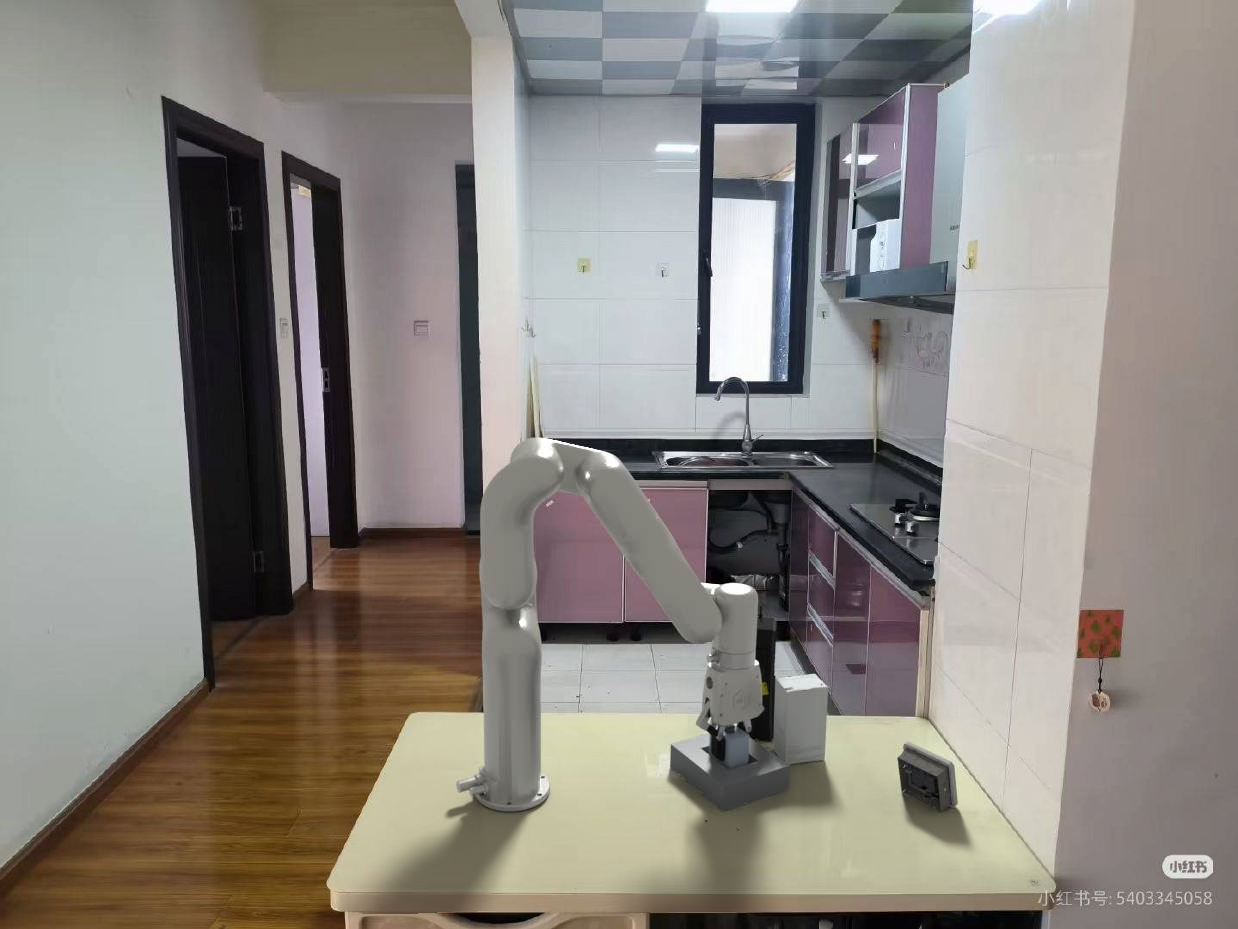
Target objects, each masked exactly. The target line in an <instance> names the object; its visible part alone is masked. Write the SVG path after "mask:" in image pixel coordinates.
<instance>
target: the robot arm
mask: <svg viewBox="0 0 1238 929" xmlns="http://www.w3.org/2000/svg"><path fill="white" fill-rule="evenodd" d="M557 492H560V493H565V494H570V495H575V496H581V497H583V499H584V501H585V502H586V504H587V505H588V507H589V508H590V509H591V511H592V512H593V513H594V515H595V517H596V519H598V521H599V522H600V524H601V525H602V526H603V528H604V529H605V531H606V532H607V534H608V535H609V537H610V538H611V539H612V541H613V543H615V546H616V547H617V548H618V550H619V551H620V552H621V554H622V555H623V557H624V558H625V559H626V561H627V563H628V564H629V565H630V568H631V569H632V570H633V571H634V572H635V573H636V574H637V576H638V578H639V579H640V580H641V581H642V582H643V584H644V585H645V586H646V587H647V588H648V590H649V591H650V593H651V594H652V596H653V597H654V599H655V600H656V602H657V603H658V604H659V606H660V607H661V609H662V610H663V611H664V613H665V615H667V617H668V619H669V620H670V622H671V623H672V624H673V626H674V627H675V629H676V630H677V631H678V634H680V635H681V637H682V638H683V639H684V640H686V641H688V642H690V643H692V644H697V645H703V644H706V643H709V642H711V648H710V650H711V652H710V654H707V655H706V661H707V663H708V664H707V667H706V673H705V676H704V677H705V678H704V681H703V682H704V683H703V691H702V703H701V712H700V714H699V716H698V717H697V719H696V721H695V726H697V727H699V729H701V730H704V731H706V732H707V734H708V733H709V734H710V735H711V753H712V755H713V756H715V757H716V758H717V759H719V760H720V761H724V759H725V745H726V741H725V739H723V735H724V730H725V726H728V725H732V724H734V725H735V724H736V726H737V727H738V728H740V729H741V730H743V731H744V732H746V733H747V734H748V732H750V731H751V726H752V724H753V723H754V722H755V720H756V718H757V717H758V716H759V715H760V714H761V713H762V712H763V711H764V707H763V705H762V680H761V672H760V667H759V663H758V661H756V660H755V653H756V634H757V616H758V614H759V613H758V608H759V594H758V592H757V591H756V589H755V588H754V587H753V586H751V585H749V584H745V583H738V582H729V583H724V584H715V583H714V584H713V583H705V582H701V580H700V579H699V577H698V576H697V575H696V573H695V571H694V570H693V569H692V567H691V565H690V564H689V562H688V561H687V559H686V558H685V556H684V554H683V553H682V550H681V549H680V547H679V545H678V544H677V541H676V540H675V538H674V536H673V535H672V533H671V532H670V530H669V528H668V526H667V525H666V524H665V523H664V521H663V520H662V518H661V517H660V515H659V513H658V512H657V511H656V509H655V508H654V507H653V505H652V504H651V502H650V500H649V499H648V498H647V496H646V495H645V493H644V492H643V491H642V489H641V487H640V486H639V485H638V483H637V481H636V480H635V478H634V476H632V474H631V473H630V471H629V470H628V469H627V467H626V466H625V465H624V463H623V462H622V461H621V459H620V458H619V457H617V456H616V455H614V454H612V453H610V452H607V451H604V450H603V451H602V450H599V449H594V448H589V447H585V446H580V445H577V444H576V445H575V444H572V443H571V444H570V443H567V442H562V441H559V440H553V439H549V438H544V437H529V438H527V439H524V440H522V441H520V442H519V443H518V444H517V445H516V446H515V447H514V449H513V450H512V452H511V456H510V459H509V463H508V464H506V465H505V466H503V467H502V468H501V469H500V470H499V471H497V473H495V475H494V476H493V477H492V478H491V480H490V481H489V483H488V484H487V486H486V488H485V490H484V492H483V495H482V499H481V503H480V511H479V512H480V513H479V514H480V515H479V518H480V519H479V520H480V521H479V523H480V524H479V525H480V539H479V540H480V559H479V568H478V570H479V573H478V574H479V575H478V576H479V583H480V595H481V596H480V597H481V611H482V612H481V615H482V617H481V618H482V636H481V637H482V638H481V641H482V642H481V661H482V662H481V664H482V703H483V704H482V705H483V706H482V707H483V747H484V748H483V752H484V754H483V755H484V756H483V757H484V758H483V762H484V765H481V766H479V767H478V773H476V774H474V775H473V776H472V777H467V778H464V779H460V780H457V781H456V784H455V785H456V789H457V792H458V793H459V794H460V793H464V792H467V791H468V792H469V795H470V797H476V799H477V800H478V802H479V803H480V804H482V805H483V806H484V807H487V808H489V809H490V810H495V811H500V812H508V813H509V812H521V811H525V810H528V809H532V808H534V807H536V806H538V805H541V804H542V803H543V802H544V801H545V800H546V799H547V798H548V796H549V795H550V792H551V782H550V780H549V778H548V776H547V775H545V773H543V772H542V704H541V702H542V698H541V695H542V694H541V693H542V692H541V691H542V688H541V687H542V686H541V685H542V683H541V682H542V665H543V664H542V661H543V648H542V647H543V646H542V638H541V631H540V626H539V621H538V620H539V619H538V609H537V608H538V607H537V604H538V603H537V583H538V582H537V581H538V568H537V564H536V563H537V562H536V558H535V548H534V547H535V546H534V544H535V543H534V532H535V531H534V530H535V529H534V524H535V523H534V520H535V519H534V517H535V514H536V510H537V509H538V508H539V506H540V505H541V504H542V503H543V502H544V501H546V500H547V499H549V498H551V497H552V496H553V495H554V494H555V493H557ZM709 720H710V721H709ZM717 726H718V728H717V729H716V727H717Z"/></svg>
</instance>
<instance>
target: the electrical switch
mask: <svg viewBox="0 0 1238 929" xmlns="http://www.w3.org/2000/svg"><path fill="white" fill-rule="evenodd" d="M902 750H903V751H902V752H901V753H900V755H899V756H897V758H896V759H897V764H898V765H897V766H898V772H899V773H898V775H899V782H900V789H901V794H903V795H904V796H905V795H906V796H907V797H908V798H911V799H913V800H915V801H917V802H919V803H921V804H923V805H925V806H926V807H928V808H931V809H933V810H934V811H936V812H938V813H940V814H941V813H943V812H944V811H945V810H946V809H948V808H949V807H950V808H952V809H954V808H956V807H957V806H958V804H959V803H958V802H959V800H958V791H957V781H956V778H957V777H956V771H955V764H954V763H953V761H951V760H949V759H947V758H945V757H942V756H940V755H938V754H935V753H933V752H932V751H929V750H927V749H926V748H923V747H921V746H918V745H916V744H914V743H912V742H911V741H906V742H905V743H903V746H902ZM925 796H928V797H926V798H925Z"/></svg>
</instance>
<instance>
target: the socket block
mask: <svg viewBox="0 0 1238 929" xmlns="http://www.w3.org/2000/svg"><path fill="white" fill-rule="evenodd" d="M709 742H710V734H709V733H708V732H707V733H705V734H700V735H698V736H693V737H690V738H687V739H684V740H680V741H676V742H674V743H670V753H669V754H670V757H669V760H670V764H669V767H670V768H671V769H672V770H673V771H674V772H675V773H677V774H678V775H679V774H680V775H679V776H680V777H682V778H683V779H684V780H685V781H686V782H687V783H689V784H690V785H691V786H692V787H693V788H694V789H696V790H697V791H698V792H699V791H700V792H699V793H701V795H702V796H704V797H706V798H707V799H708V800H709V801H710V802H712V803H713V804H714V805H715V806H716V807H717V808H719V809H720V810H721V812H726V811H729V810H732V809H734V808H737V807H741V806H743V805H742V804H744V805H746V804H745V803H747V804H750V803H752V802H755V801H758V800H761V799H764V797H765V798H767V797H770V796H774V795H776V794H778V793H783V792H785V791H789V789H790V779H791V778H790V777H791V776H790V775H791V764H788V763H786V762H785V761H783V760H782V759H780V758H779V756H778V755H777V754H775V753H773V752H772V751H770V750H769V749H767V748H766V747H764V746H763V745H762V744H760V743H759V742H757V740H753V739H751V738H750V737H749V757H748V764H747V765H744V766H740V767H737V768H734V769H731V770H728V769H727V768H726V767H724V766H723V765H722V764H721V763H719V762H718V761H717V760H715V759H714V758H713V757H711V756H710V755H709ZM773 794H774V795H773ZM740 805H741V806H740Z"/></svg>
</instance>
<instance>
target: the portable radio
mask: <svg viewBox="0 0 1238 929" xmlns="http://www.w3.org/2000/svg"><path fill="white" fill-rule="evenodd" d="M758 607H759V613H758V615H757V634H756V653H755V660H756V661H758V663H759V667H760V672H761V680H762V705H763V707H764V711H763V712H762V713H761V714H760V715H759V716H758V717H757V718H756V720H755V722H754V723H753V724H752V726H751V731H750V732H748V734H749V735H750V736H749V737H750V738H751V739H753V740H754V741H761V742H762V741H763V742H772V741H773V740H774V708H775V679H776V675H775V668H776V667H775V665H776V650H777V649H776V647H777V644H776V643H777V628H778V626H777V624H778V623H777V620H776V619H775V617H772V616H771V617H770V616H763V613H762V609H763V604H758Z"/></svg>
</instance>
